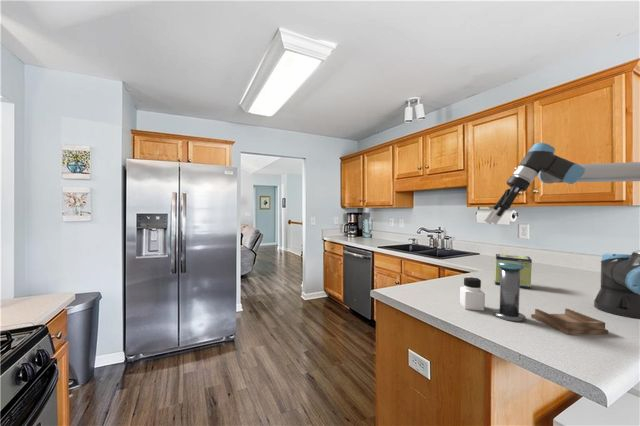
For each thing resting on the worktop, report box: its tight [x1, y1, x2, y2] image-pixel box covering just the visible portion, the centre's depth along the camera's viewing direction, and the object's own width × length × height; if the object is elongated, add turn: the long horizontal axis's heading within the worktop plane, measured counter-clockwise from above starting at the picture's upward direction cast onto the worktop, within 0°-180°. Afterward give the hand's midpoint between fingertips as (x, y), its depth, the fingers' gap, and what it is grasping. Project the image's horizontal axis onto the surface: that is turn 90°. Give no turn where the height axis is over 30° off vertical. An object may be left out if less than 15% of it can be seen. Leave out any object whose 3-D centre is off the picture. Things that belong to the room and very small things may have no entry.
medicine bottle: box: [459, 276, 486, 312], centre depth 111 cm, size 7×7×12 cm
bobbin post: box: [492, 261, 526, 323], centre depth 101 cm, size 10×10×20 cm
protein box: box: [494, 253, 533, 290], centre depth 146 cm, size 10×16×16 cm
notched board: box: [530, 308, 609, 336], centre depth 95 cm, size 14×14×4 cm
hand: (489, 222), depth 116 cm, fingers open, 13 cm apart
